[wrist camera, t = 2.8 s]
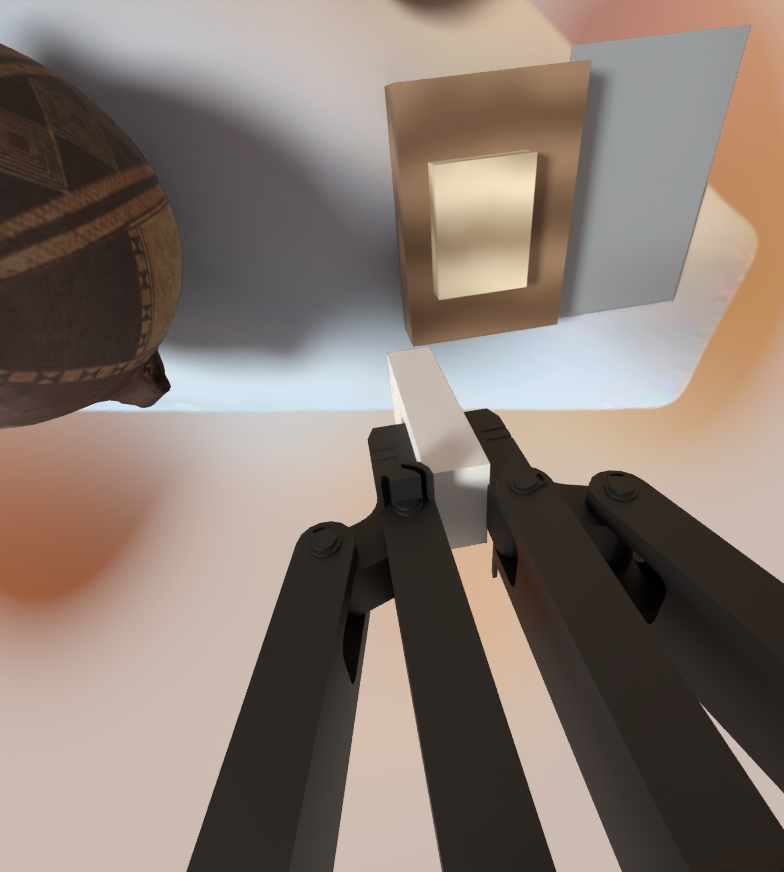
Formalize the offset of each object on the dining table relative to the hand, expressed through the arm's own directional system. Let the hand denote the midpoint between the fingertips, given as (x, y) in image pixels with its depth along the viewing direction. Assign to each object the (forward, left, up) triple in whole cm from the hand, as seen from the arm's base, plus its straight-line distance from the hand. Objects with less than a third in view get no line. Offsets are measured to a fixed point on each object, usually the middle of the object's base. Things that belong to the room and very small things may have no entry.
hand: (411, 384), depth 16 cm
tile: (0, +9, -21) cm, 23 cm away
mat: (0, +23, -25) cm, 34 cm away
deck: (0, +10, -25) cm, 27 cm away
